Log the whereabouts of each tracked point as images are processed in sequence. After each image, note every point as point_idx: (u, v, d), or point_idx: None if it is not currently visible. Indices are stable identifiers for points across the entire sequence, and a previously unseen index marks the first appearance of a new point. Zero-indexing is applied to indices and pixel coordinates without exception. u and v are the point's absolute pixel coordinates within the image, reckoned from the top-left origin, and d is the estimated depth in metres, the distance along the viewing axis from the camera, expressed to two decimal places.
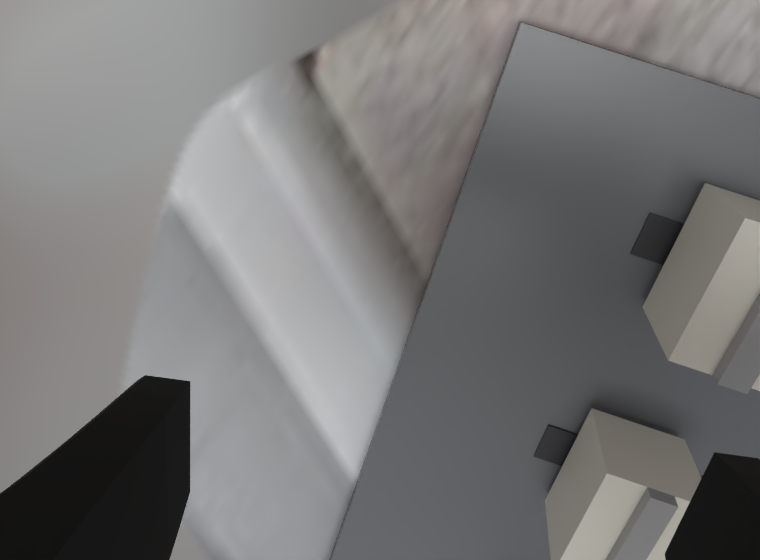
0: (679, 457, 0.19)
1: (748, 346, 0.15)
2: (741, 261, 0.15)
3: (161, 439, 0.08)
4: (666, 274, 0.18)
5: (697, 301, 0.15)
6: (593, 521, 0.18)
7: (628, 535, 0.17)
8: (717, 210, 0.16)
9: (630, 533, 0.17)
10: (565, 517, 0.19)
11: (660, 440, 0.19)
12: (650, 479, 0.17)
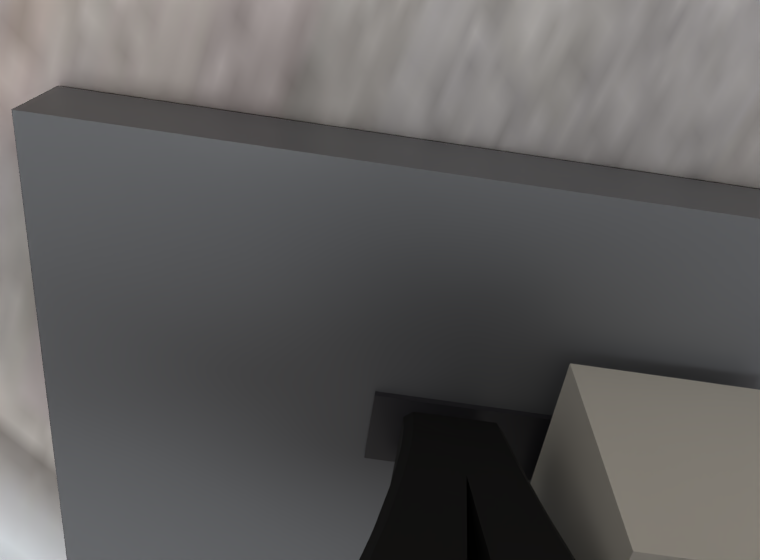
0: None
1: None
2: None
3: None
4: None
5: None
6: None
7: None
8: (588, 460, 0.08)
9: None
10: None
11: None
12: None
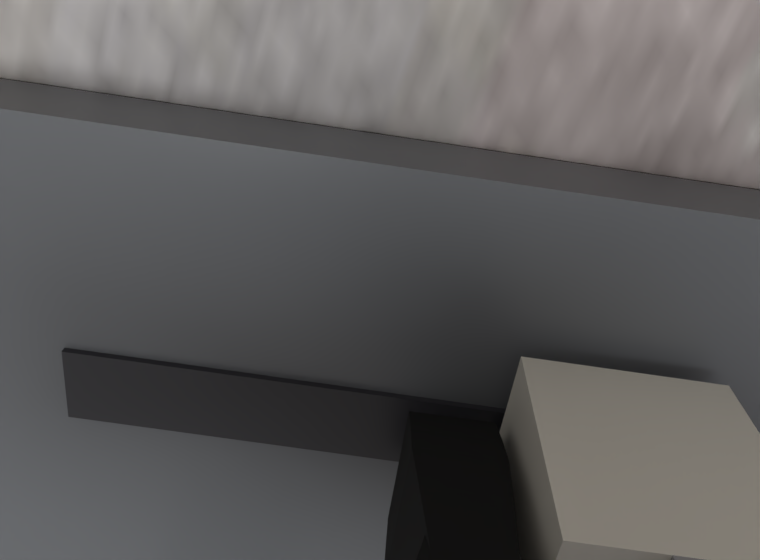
0: None
1: None
2: None
3: None
4: None
5: None
6: None
7: None
8: (532, 452, 0.08)
9: None
10: None
11: None
12: None
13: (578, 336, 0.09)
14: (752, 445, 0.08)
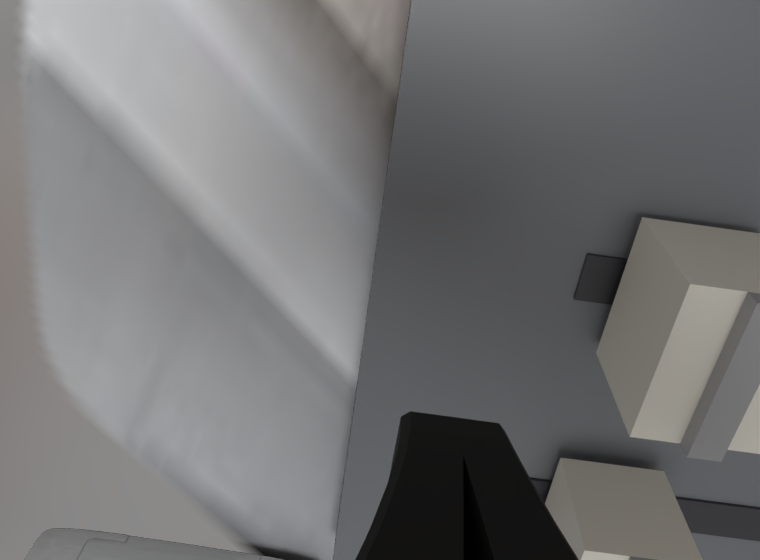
0: None
1: None
2: None
3: None
4: None
5: None
6: (677, 354, 0.13)
7: (729, 362, 0.13)
8: None
9: (732, 359, 0.13)
10: (633, 361, 0.14)
11: (739, 239, 0.15)
12: (748, 282, 0.13)
13: None
14: None
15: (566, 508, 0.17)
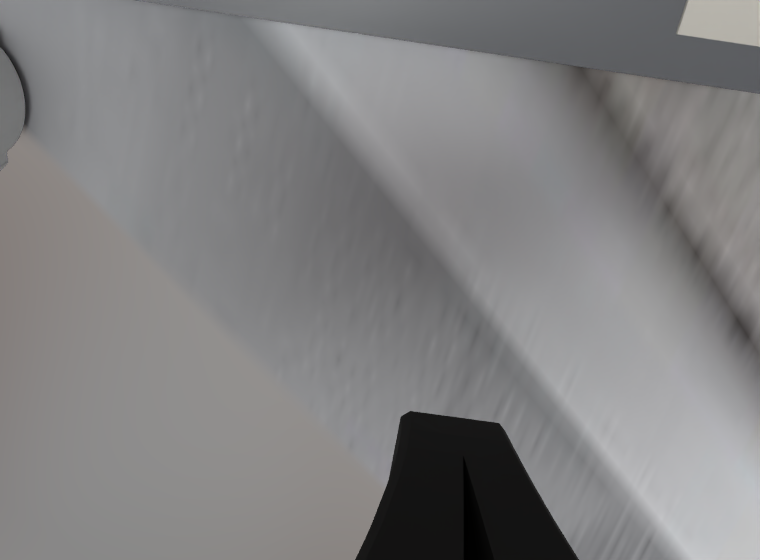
0: None
1: None
2: None
3: None
4: None
5: None
6: None
7: None
8: None
9: None
10: None
11: None
12: None
13: None
14: None
15: None
